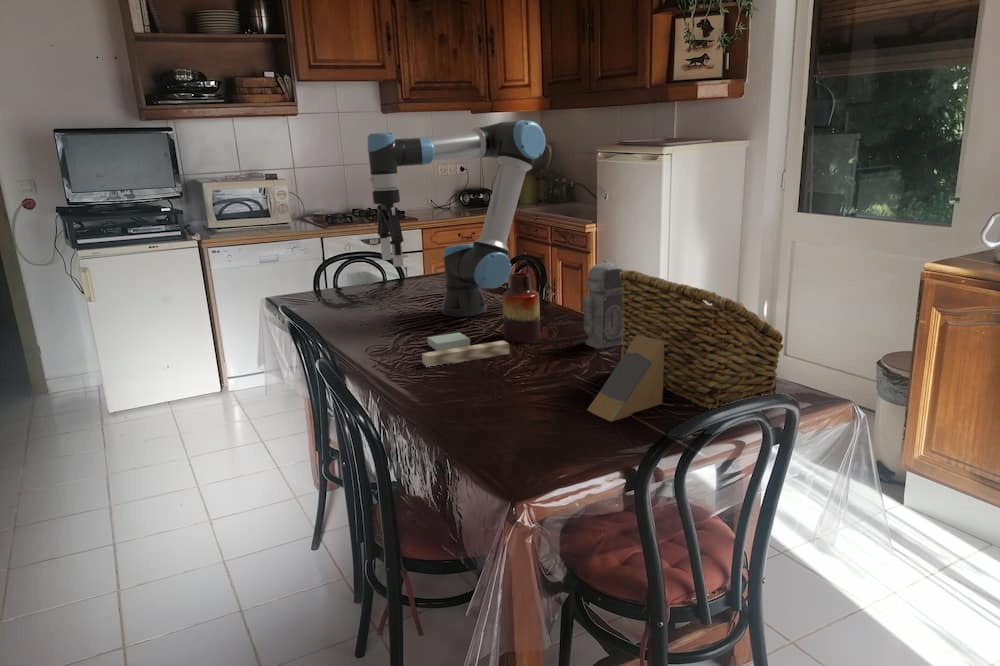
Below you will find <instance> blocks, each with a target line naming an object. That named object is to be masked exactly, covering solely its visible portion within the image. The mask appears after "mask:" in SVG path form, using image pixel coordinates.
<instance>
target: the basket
mask: <svg viewBox="0 0 1000 666" xmlns="http://www.w3.org/2000/svg"><path fill="white" fill-rule="evenodd" d="M619 275H620V279H621V280H623V283H622V286H623V288H622V293H623V294H624V295H623V296H622V303H623V313H622V316H623V318H622V320H623V321H622V324H623V326H622V330H623V331H622V334H623V335H622V337H623V340H622V344H621V346H622V347H621V354H620V355H621V356H620V360H621V359H622V357H623V356H624V354H625V352H626V351H627V349H628V348H629V346H630V344H631V343H632V341H633V339H634V338H635V336H636V335H637V334H638V335H642V336H645V337H649V338H652V339H655V340H658V341H661V342H664V369H663V390H664V389H665V390H666V391H668V392H671V393H673V394H674V395H676V396H677V395H678V396H680V397H682V398H685V399H686V400H688V401H689V400H690V401H691V402H692V403H694V404H696V405H698V406H700V407H703V408H705V409H706V408H707V409H708V410H712V409H711V408H715V407H718V406H721V405H724V404H727V403H730V402H733V401H737V400H741V399H745V398H750V397H755V396H761V395H765V394H771V393H773V394H775V393H776V391H777V379H776V378H777V376H778V374H777V371H776V370H777V369H778V363H779V358H780V352H781V351H782V350H783V348H784V346H785V345H784V344H782V342H783V338H784V337H783V335H782V333H781V332H780V331H779V330H777V329H776V328H775V327H774V326H772V325H773V324H772V325H771V324H770V323H768V322H767V321H765V320H763V319H761V318H760V317H759V315H758V314H756V313H755V312H753V311H751V310H748V309H747V308H746V307H745V306H744V305H743V304H741V303H739V302H738V301H734V300H732V299H731V298H729V297H725V296H721V295H720V294H717V293H716V292H715V291H708V290H706V289H702V288H699V287H693V286H690V285H688V284H684V283H678V282H673V281H669V280H666V279H664V278H660V277H658V276H657V277H656V276H652V275H648V274H645V273H642V272H640V271H639V270H637V271H636V270H628V269H622V271H621V272H620V274H619Z"/></svg>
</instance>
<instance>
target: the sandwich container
mask: <svg viewBox="0 0 1000 666" xmlns="http://www.w3.org/2000/svg"><path fill="white" fill-rule="evenodd" d="M663 369H664V342H661V341H658V340H655V339H652V338H649V337H645V336H642V335H638V334H637V335H636V336H635V338H634V339H633V341H632V343H631V344H630V346H629V348H628V349H627V351H626V352H625V354H624V356H623V357H622V359H621V358H620V360H619V362H618V364H617V365H616V366H615V368H614V369H613V371H612V373H611V374H610V375H609V377H608V379H607V380H606V381H605V383H604V384H603V386H602V388H601V389H600V390H599V391H598V394H597V395H596V397H595V398H594V399H593V401H592V402H591V403H590V405H589V407H588V408H587V410H586V411H588V412H589V413H591V414H593V415H595V416H598V417H600V418H602V419H604V420H607V421H609V422H614V421H618V420H622V419H624V418H628V417H630V416H634V413H637V412H640V411H644V410H647V409H650V408H653V407H656V406H660V405H661V404H663V399H664V397H663V395H664V389H663Z"/></svg>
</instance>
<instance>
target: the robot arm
mask: <svg viewBox="0 0 1000 666" xmlns="http://www.w3.org/2000/svg"><path fill="white" fill-rule="evenodd" d="M546 145H547V144H546V135H545V133H544V130H543V128H542V127H541V126H540V125H539V124H538V123H537V122H536V121H533V120H525V119H521V120H516V121H515V120H513V121H501V122H497V123H494V124H493V123H492V124H490V125H485V126H481V127H474V128H472V129H471V131H463V132H454V133H443V134H433V135H426V136H424V135H423V136H415V137H405V138H395V134H394V133H393V132H378V133H377V132H375V133H370V134H368V135H367V152H368V153H367V154H368V160H369V161H368V162H369V169H370V178H369V182H371V189H373V190H372V201H373V204H374V205H377V235H378V236H379V240H380V251H381V259H382V260H381V261H389V260H390V261H391V260H392V263H393V265H392V267H394V268H396V267H404V257H403V247H402V242H404V237H403V236H404V235H403V232H402V227H401V223H400V218H399V211H398V210H399V209H398V207H397V206H396V207H395V205H394V204H397V203H400V200H401V197H400V190H399V189H398V188H399V186H400V185H399V175H398V167H408V166H409V167H411V166H424V165H428V164H431V163H432V162H433V161H439V160H445V159H446V160H447V159H454V158H455V159H456V158H464V157H470V156H471V157H472V156H474V158H477V159H480V158H492V159H493V158H494V159H496V160H497V161H498V163H499V167H498V171H497V175H496V179H495V182H494V187H493V190H492V193H491V197H490V201H489V205H488V208H487V212H486V216H485V220H484V223H483V226H482V229H481V233H480V237H479V238H477V239H475V240H474V241H473V242H471V243H463V244H454V245H448V246H446V247H444V249H443V257H442V258H443V264H444V265H443V266H444V277H445V279H444V280H445V282H444V284H445V293H444V296H443V300H442V303H441V313H442V315H445V316H448V317H459V318H461V317H473V316H478V315H482V314H484V313H486V312H487V303H486V301H485V298H484V295H483V293H482V290H481V288H483V289H498V288H499V287H501V286H502V285H503V286H504V284H505V283H506V282H507V281H508V279H509V277H511V274H512V273H511V272H512V263H511V260H510V258H509V253H510V250H509V248H508V246H507V242H508V239H509V236H510V231H511V229H512V228H511V227H512V224H513V221H514V218H515V214H516V209H517V206H518V203H519V202H518V201H519V198H520V195H521V192H522V189H523V184H524V180H525V176H526V174H527V172H528V171H530V170H532V169H533V166H534V162H535V160H536V159H538V158H540V157H541V156H542V155H543V153H544V151H545V149H546Z"/></svg>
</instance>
